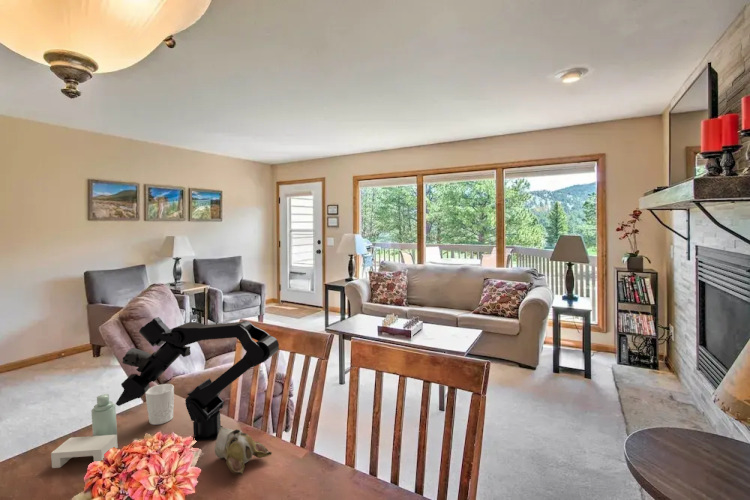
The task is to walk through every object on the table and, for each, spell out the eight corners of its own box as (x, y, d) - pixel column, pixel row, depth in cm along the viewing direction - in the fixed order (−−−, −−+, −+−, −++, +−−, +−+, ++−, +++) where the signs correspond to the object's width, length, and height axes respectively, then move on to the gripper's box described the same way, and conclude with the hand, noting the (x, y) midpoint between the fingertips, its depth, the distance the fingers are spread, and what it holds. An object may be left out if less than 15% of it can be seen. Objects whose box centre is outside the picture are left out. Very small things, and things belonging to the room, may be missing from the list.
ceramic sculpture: (237, 412, 105) (274, 431, 97) (237, 441, 106) (273, 462, 98) (202, 430, 97) (239, 452, 88) (202, 462, 97) (239, 486, 89)
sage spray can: (121, 433, 111) (118, 391, 110) (110, 444, 106) (107, 400, 105) (101, 435, 111) (98, 392, 110) (88, 446, 105) (85, 401, 104)
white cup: (166, 426, 115) (164, 394, 115) (141, 426, 115) (139, 394, 115) (180, 413, 123) (178, 383, 123) (156, 413, 123) (155, 383, 123)
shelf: (117, 448, 104) (116, 434, 104) (102, 464, 97) (101, 449, 97) (71, 451, 103) (70, 437, 102) (52, 468, 96) (50, 453, 95)
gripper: (153, 330, 118) (116, 368, 116) (127, 350, 100) (83, 394, 98) (182, 353, 120) (145, 390, 118) (161, 376, 102) (118, 420, 100)
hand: (124, 397), depth 109 cm, fingers open, 9 cm apart
